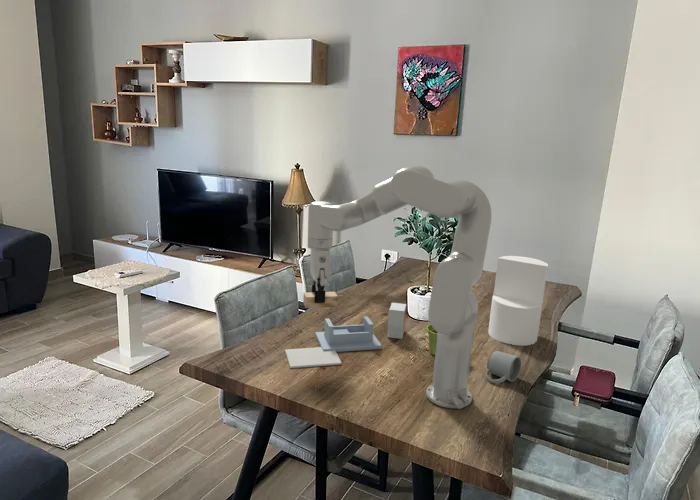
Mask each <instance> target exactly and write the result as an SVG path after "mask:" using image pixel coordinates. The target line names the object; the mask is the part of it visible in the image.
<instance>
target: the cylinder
mask: <svg viewBox="0 0 700 500" xmlns="http://www.w3.org/2000/svg"><path fill="white" fill-rule="evenodd" d="M548 268H549V264H548V263H547V262H545V261H543V260H541V259H538V258H534V257H527V256H520V255H504V256H499V257H497V263H496V270H495V271H496V272H495V281H494V286H493V287H494V289H493V295H492V298H491V304H490V305H491V307H490V314H489V315H490V316H489V324H488V335H489V336H490V338H492V339H493V340H495V341H497V342H500V343H504V344H506V345H511V344H512V345H513V346H531V344H532V345H534V344H536V343H537V341H538V337H539V336H538V335H539V330H540V323H541V316H542V310H543V304H544V295H545V291H546V281H547V277H548V275H547V274H548ZM535 342H536V343H535Z"/></svg>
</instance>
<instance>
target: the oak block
mask: <svg viewBox="0 0 700 500" xmlns="http://www.w3.org/2000/svg"><path fill="white" fill-rule="evenodd" d="M338 298H339V296H338V295H337V293H336V291H325V303H315V302H314V300H315V292H312V291H311V292H303V298H302V299H303V302H302V303H303V306H304V308H305V309H315V308H316V309H317V308H318V309H319V308H320V309H321V308H338V302H339V300H338Z"/></svg>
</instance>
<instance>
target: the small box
mask: <svg viewBox="0 0 700 500" xmlns="http://www.w3.org/2000/svg"><path fill="white" fill-rule="evenodd" d="M406 315H407V303H400V302H391V303H390V307H389V308H388V319H387V335H386V336H387V338H389V339H390V338H391V339H400V340H403V339H404V334H405V330H406V328H405V326H406Z"/></svg>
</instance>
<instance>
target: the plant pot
mask: <svg viewBox="0 0 700 500" xmlns="http://www.w3.org/2000/svg"><path fill="white" fill-rule="evenodd" d="M426 331H427V334H428V347H429V354H431V355H433V356H435V352H436V343H437V334H438V332H437V331H436V330H435V329H434V328H433V327H432V325H431V323H430V324H428V325H427V326H426Z"/></svg>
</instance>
